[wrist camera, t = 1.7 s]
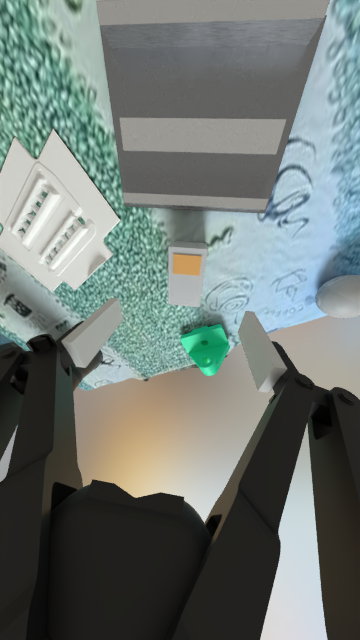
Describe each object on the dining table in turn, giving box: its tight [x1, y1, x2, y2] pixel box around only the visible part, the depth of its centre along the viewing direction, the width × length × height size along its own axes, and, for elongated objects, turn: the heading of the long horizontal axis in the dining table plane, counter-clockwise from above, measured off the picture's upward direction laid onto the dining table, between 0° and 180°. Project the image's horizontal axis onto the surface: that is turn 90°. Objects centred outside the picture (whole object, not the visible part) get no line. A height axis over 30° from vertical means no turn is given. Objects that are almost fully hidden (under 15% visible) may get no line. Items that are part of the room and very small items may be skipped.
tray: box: [0, 128, 120, 292], centre depth 29 cm, size 20×28×4 cm
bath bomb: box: [315, 275, 360, 318], centre depth 27 cm, size 8×8×8 cm
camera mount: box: [181, 324, 230, 376], centre depth 37 cm, size 12×8×10 cm, turn 116°
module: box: [169, 241, 208, 307], centre depth 28 cm, size 6×10×8 cm, turn 178°
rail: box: [96, 0, 330, 213], centre depth 19 cm, size 24×16×3 cm, turn 88°
